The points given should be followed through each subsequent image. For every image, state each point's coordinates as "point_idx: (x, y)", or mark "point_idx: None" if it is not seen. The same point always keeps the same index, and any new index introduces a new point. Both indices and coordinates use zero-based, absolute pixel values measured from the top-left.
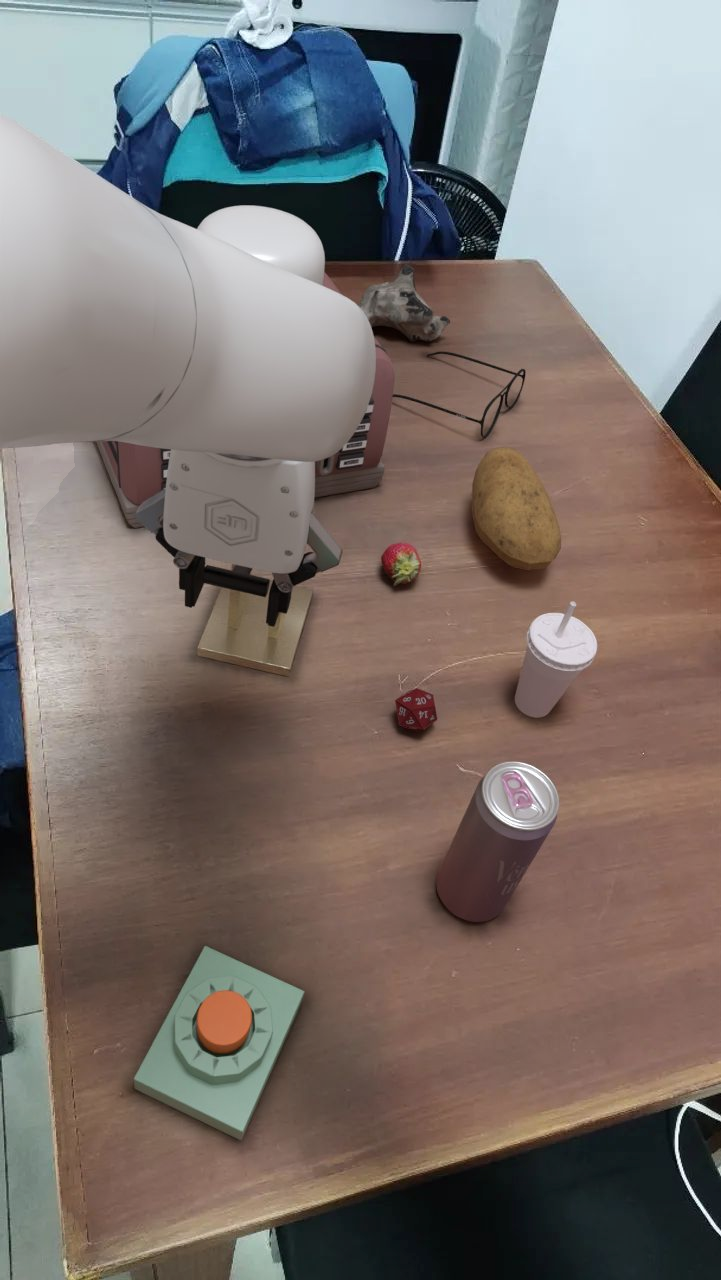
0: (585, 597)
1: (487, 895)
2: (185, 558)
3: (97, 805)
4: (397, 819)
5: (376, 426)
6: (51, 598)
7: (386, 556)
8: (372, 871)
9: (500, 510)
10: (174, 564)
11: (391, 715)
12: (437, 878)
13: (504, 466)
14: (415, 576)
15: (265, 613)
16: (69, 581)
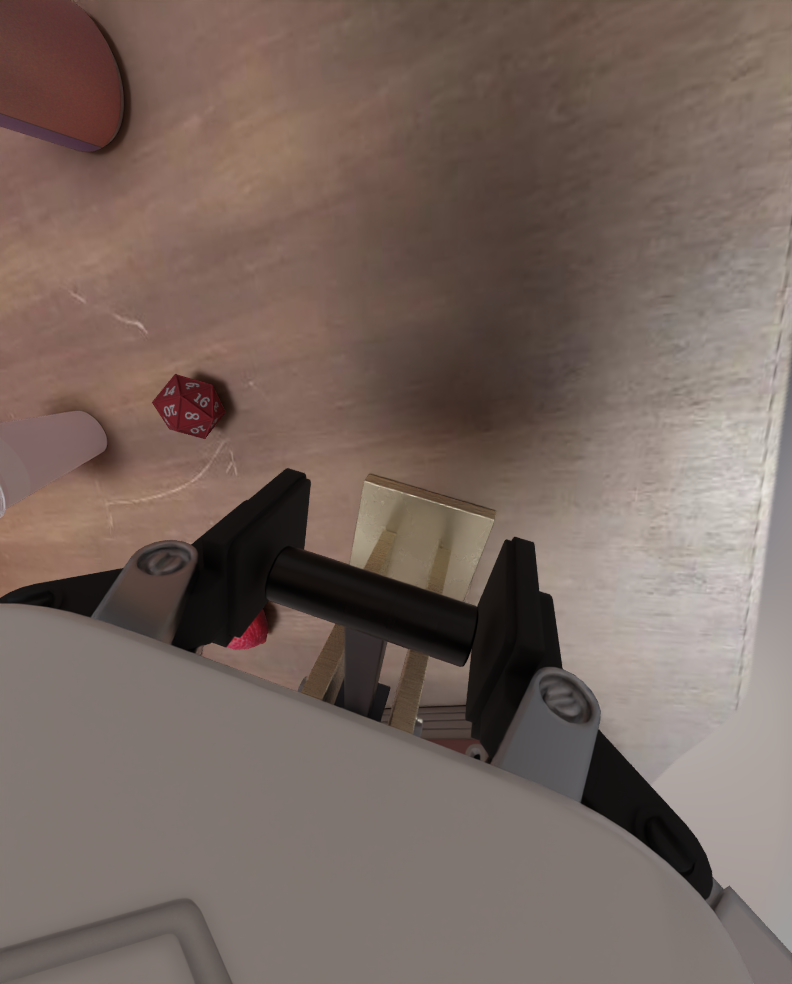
0: (74, 567)
1: None
2: (548, 720)
3: (691, 200)
4: (201, 223)
5: None
6: (710, 614)
7: (255, 633)
8: (220, 105)
9: None
10: (591, 691)
11: (236, 411)
12: (111, 79)
13: None
14: None
15: (400, 568)
16: (676, 638)
